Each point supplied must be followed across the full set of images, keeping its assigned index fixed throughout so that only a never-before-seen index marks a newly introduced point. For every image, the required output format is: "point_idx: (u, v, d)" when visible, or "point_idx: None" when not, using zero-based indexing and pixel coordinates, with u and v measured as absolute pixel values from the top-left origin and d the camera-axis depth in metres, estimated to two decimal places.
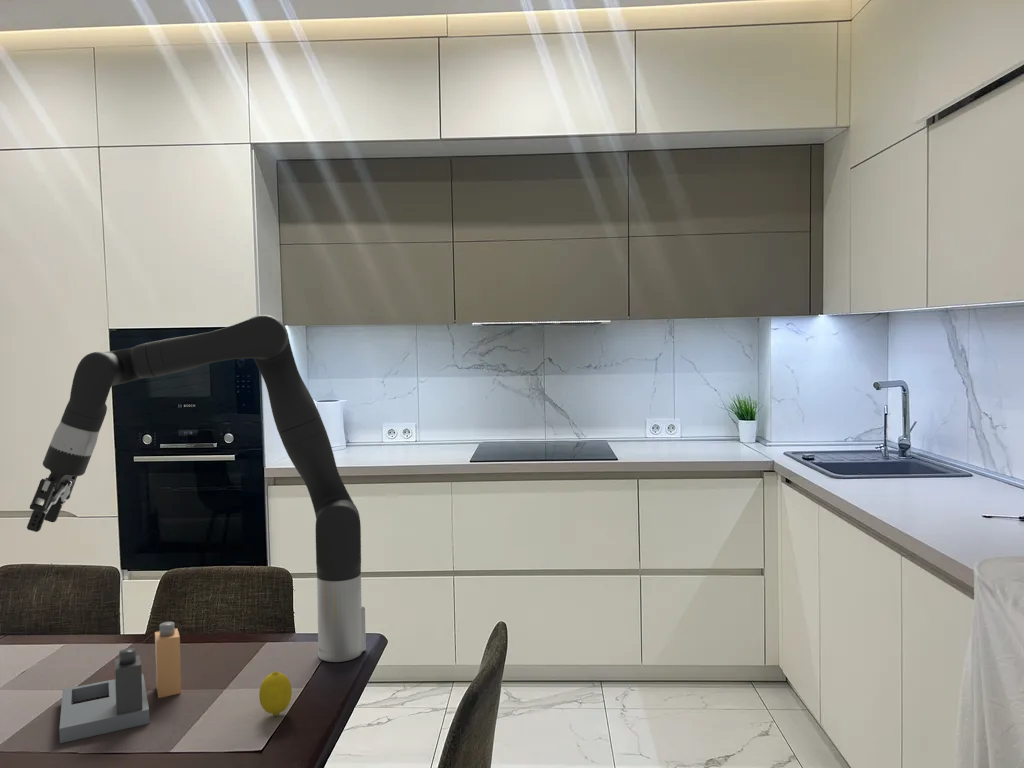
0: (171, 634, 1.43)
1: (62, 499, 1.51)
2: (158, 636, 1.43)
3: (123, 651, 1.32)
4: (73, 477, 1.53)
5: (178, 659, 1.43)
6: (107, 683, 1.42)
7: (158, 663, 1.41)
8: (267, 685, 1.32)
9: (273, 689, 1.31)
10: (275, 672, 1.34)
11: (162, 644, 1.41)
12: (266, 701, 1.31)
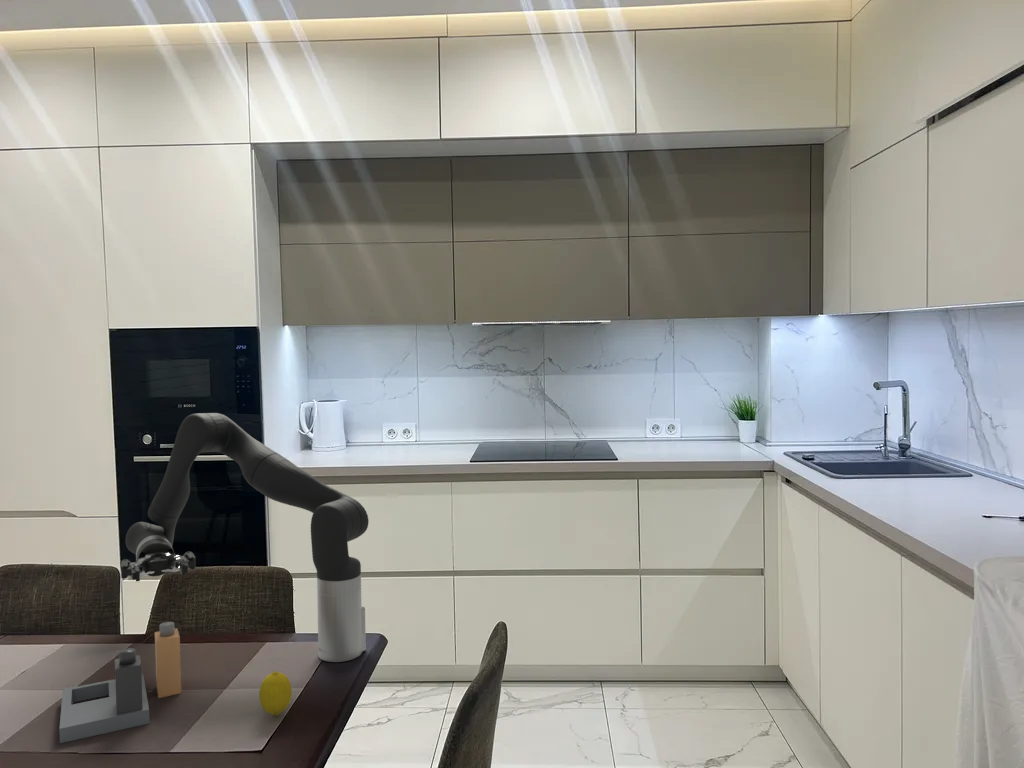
0: (171, 634, 1.43)
1: (177, 560, 1.59)
2: (158, 636, 1.43)
3: (123, 651, 1.32)
4: None
5: (178, 659, 1.43)
6: (107, 683, 1.42)
7: (158, 663, 1.41)
8: (267, 685, 1.32)
9: (273, 689, 1.31)
10: (275, 672, 1.34)
11: (162, 644, 1.41)
12: (266, 701, 1.31)
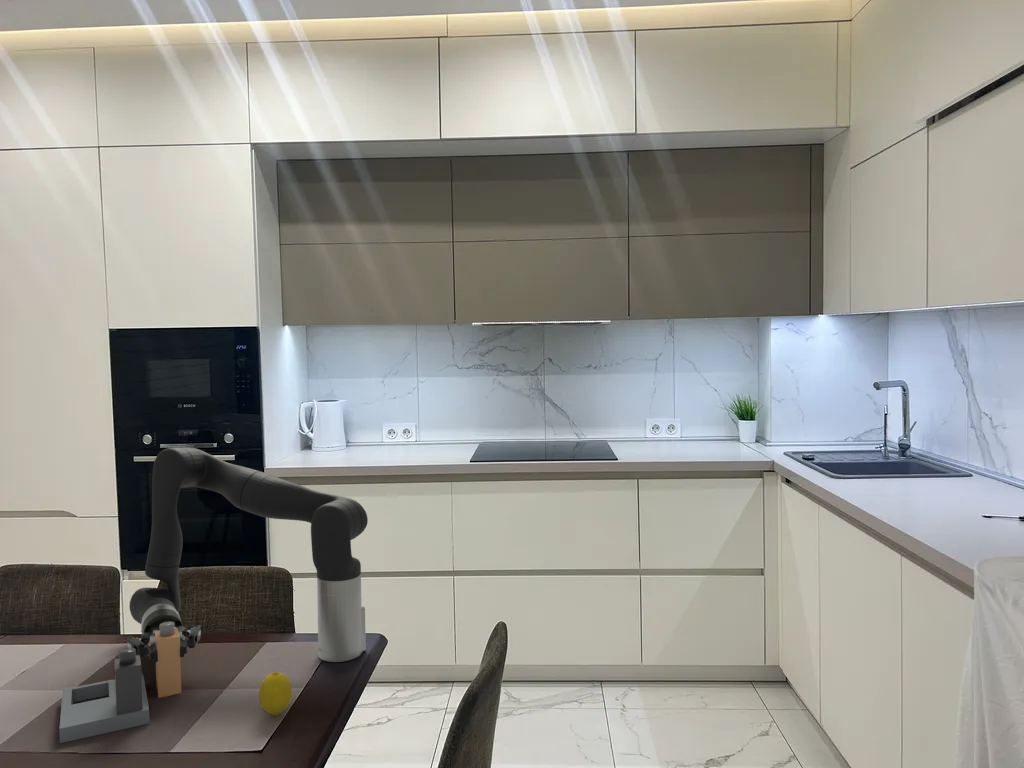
0: (171, 634, 1.43)
1: None
2: (158, 636, 1.43)
3: (123, 651, 1.32)
4: None
5: (178, 659, 1.43)
6: (107, 683, 1.42)
7: (158, 663, 1.41)
8: (267, 685, 1.32)
9: (273, 689, 1.31)
10: (275, 672, 1.34)
11: (162, 644, 1.41)
12: (266, 700, 1.31)
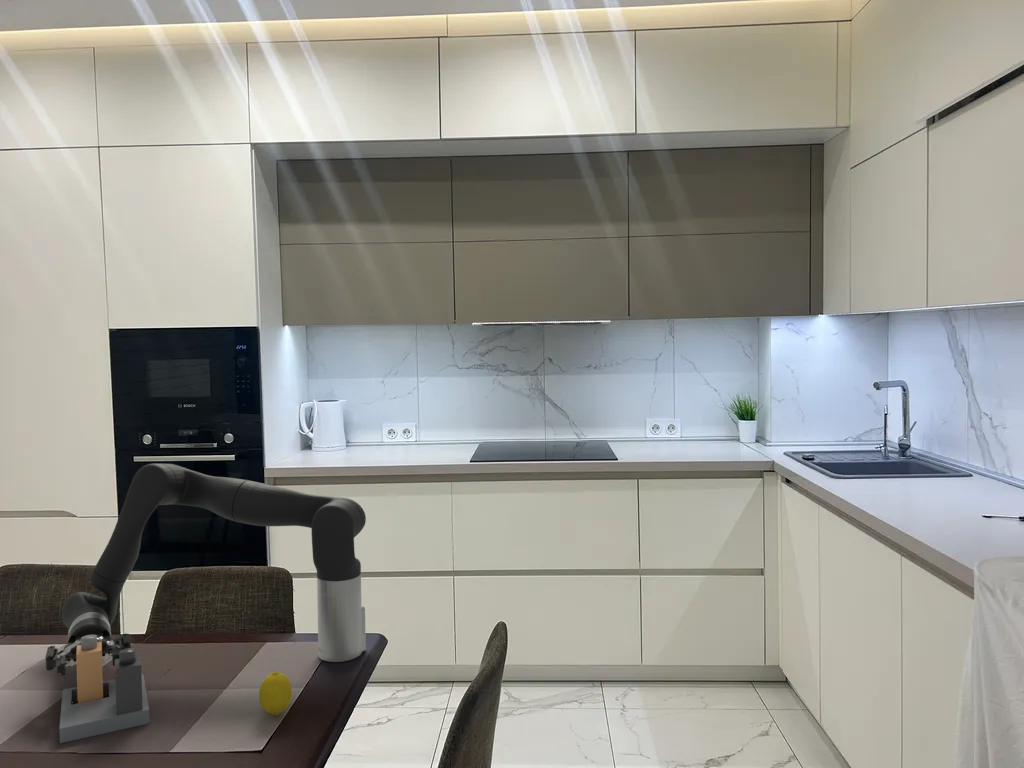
0: (93, 648, 1.37)
1: (109, 646, 1.42)
2: (79, 650, 1.37)
3: (123, 651, 1.32)
4: None
5: (100, 674, 1.36)
6: (107, 683, 1.42)
7: (78, 678, 1.35)
8: (267, 685, 1.32)
9: (273, 689, 1.31)
10: (275, 672, 1.34)
11: (82, 658, 1.35)
12: (266, 700, 1.31)
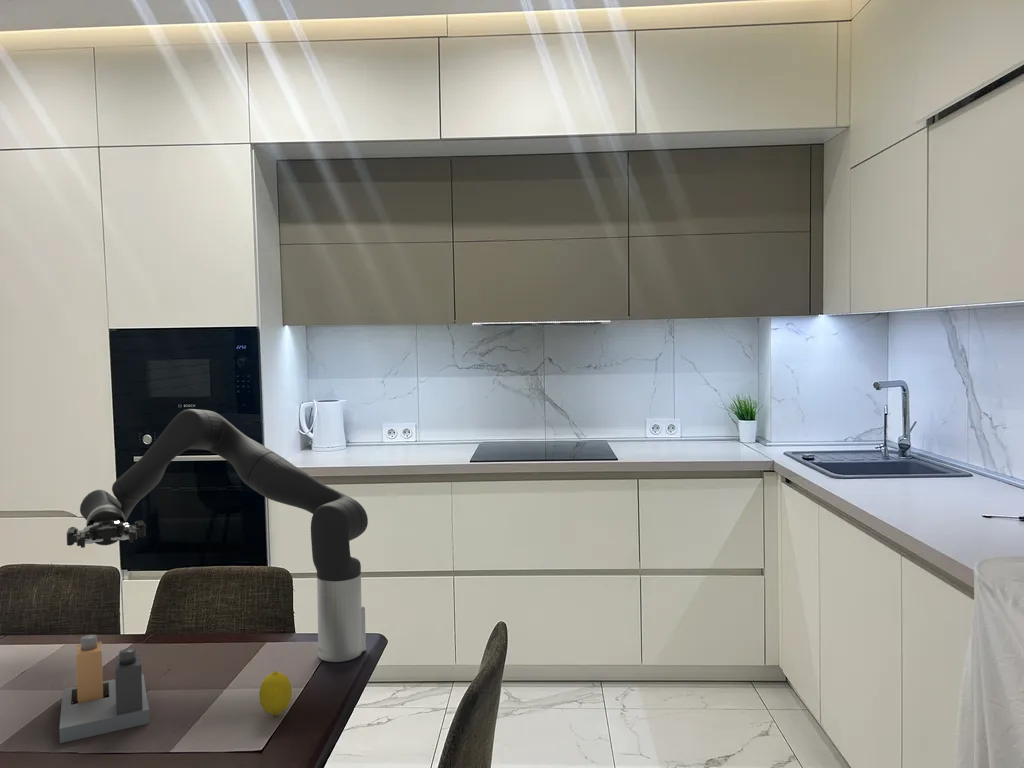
0: (93, 648, 1.37)
1: (126, 528, 1.55)
2: (79, 650, 1.37)
3: (123, 651, 1.32)
4: None
5: (100, 674, 1.36)
6: (107, 683, 1.42)
7: (78, 678, 1.35)
8: (267, 685, 1.32)
9: (273, 689, 1.31)
10: (275, 672, 1.34)
11: (82, 658, 1.35)
12: (266, 700, 1.31)
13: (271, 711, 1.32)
